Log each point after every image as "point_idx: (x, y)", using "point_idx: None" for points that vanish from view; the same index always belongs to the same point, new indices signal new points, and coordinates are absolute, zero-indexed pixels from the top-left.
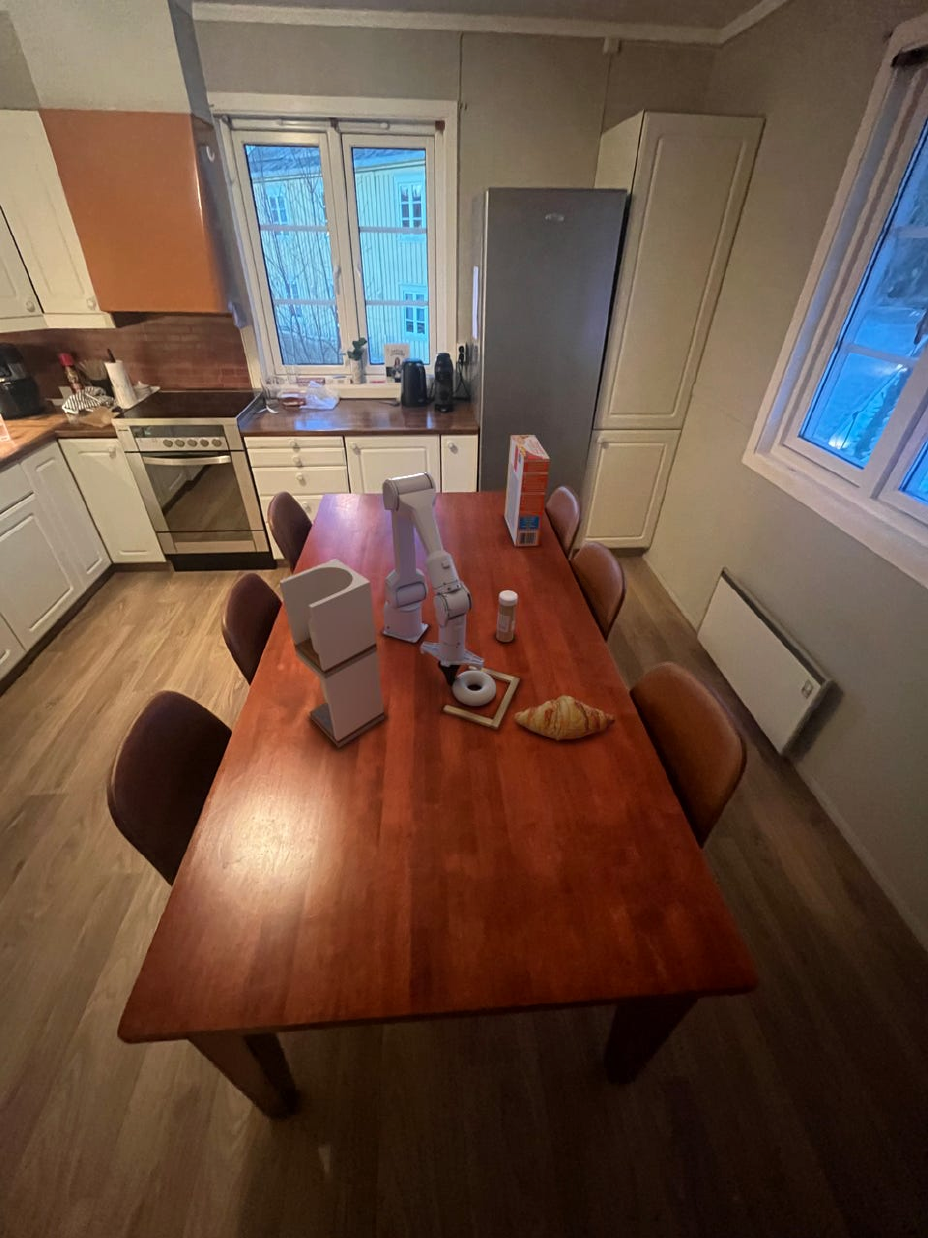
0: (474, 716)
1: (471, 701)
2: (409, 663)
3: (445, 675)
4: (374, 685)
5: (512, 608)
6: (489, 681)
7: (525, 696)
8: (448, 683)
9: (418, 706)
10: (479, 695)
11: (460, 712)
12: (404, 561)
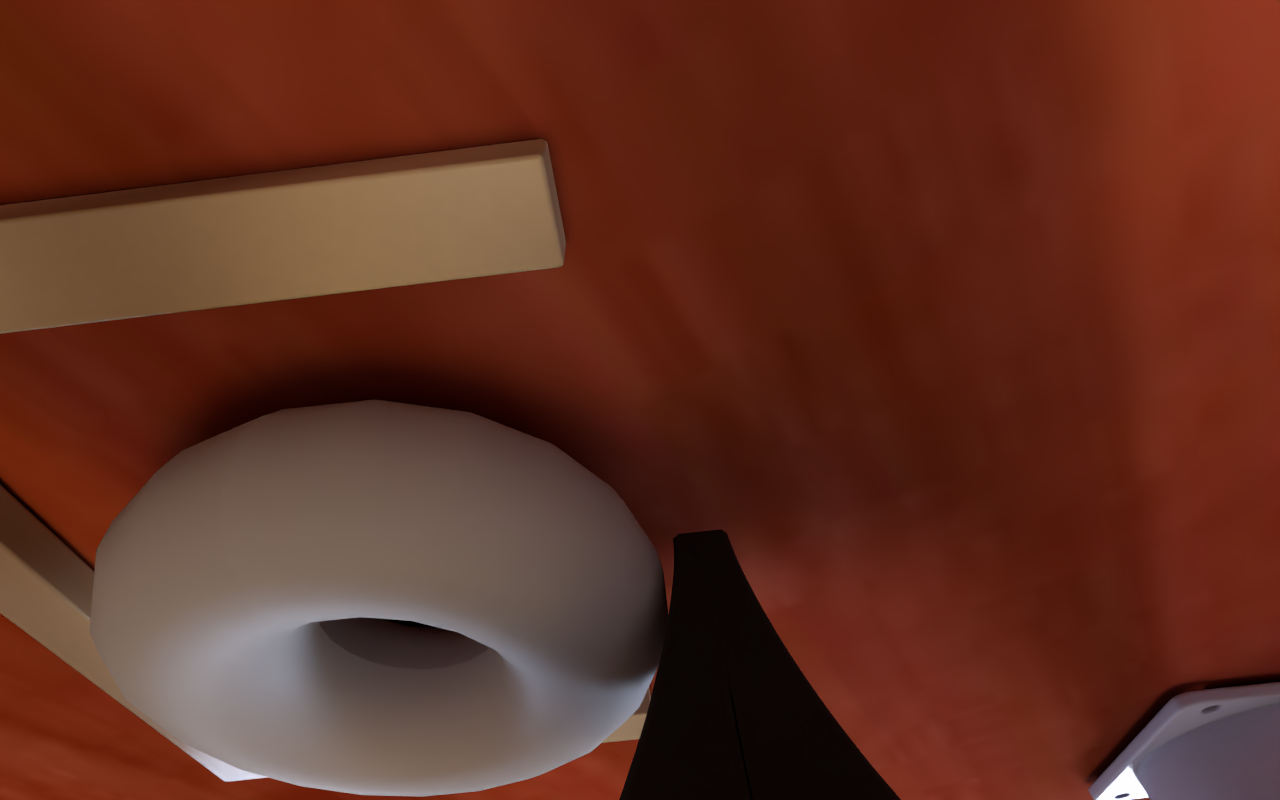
0: (19, 281)
1: (199, 482)
2: (1213, 547)
3: (786, 691)
4: None
5: None
6: (264, 771)
7: (49, 692)
8: (714, 557)
9: (994, 13)
10: (136, 617)
11: (255, 240)
12: None
